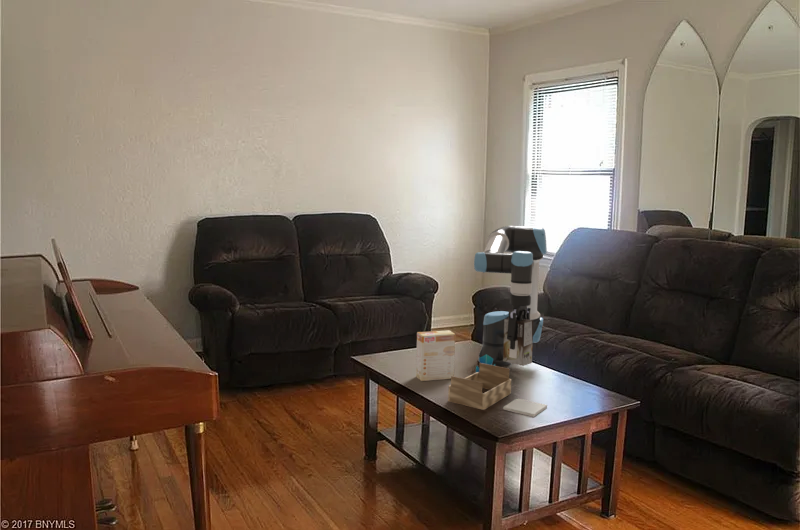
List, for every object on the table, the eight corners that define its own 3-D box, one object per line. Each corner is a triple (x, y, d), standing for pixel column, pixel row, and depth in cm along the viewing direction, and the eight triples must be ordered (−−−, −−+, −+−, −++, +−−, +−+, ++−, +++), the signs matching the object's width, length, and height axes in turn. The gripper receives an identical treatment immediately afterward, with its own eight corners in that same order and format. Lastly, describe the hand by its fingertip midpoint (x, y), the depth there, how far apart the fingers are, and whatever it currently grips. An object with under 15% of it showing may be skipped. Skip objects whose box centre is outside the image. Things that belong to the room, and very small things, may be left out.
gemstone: (495, 384, 267) (497, 355, 266) (474, 382, 269) (475, 354, 267) (496, 378, 274) (498, 351, 273) (476, 377, 276) (477, 349, 274)
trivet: (517, 400, 248) (517, 398, 247) (546, 407, 241) (547, 404, 241) (503, 409, 238) (503, 406, 238) (534, 416, 231) (534, 414, 231)
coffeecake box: (448, 374, 280) (449, 329, 277) (454, 378, 273) (456, 333, 270) (415, 376, 275) (416, 331, 273) (420, 381, 268) (422, 335, 266)
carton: (476, 386, 264) (477, 362, 263) (510, 393, 256) (511, 369, 254) (448, 401, 245) (448, 375, 244) (483, 410, 237) (484, 383, 235)
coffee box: (532, 363, 238) (534, 320, 236) (523, 366, 234) (525, 322, 232) (511, 358, 244) (513, 316, 242) (501, 361, 240) (503, 318, 238)
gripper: (522, 289, 246) (520, 348, 249) (498, 296, 230) (495, 359, 233) (541, 291, 242) (538, 351, 244) (518, 298, 226) (515, 363, 229)
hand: (517, 355), depth 239 cm, fingers closed on coffee box, 7 cm apart
